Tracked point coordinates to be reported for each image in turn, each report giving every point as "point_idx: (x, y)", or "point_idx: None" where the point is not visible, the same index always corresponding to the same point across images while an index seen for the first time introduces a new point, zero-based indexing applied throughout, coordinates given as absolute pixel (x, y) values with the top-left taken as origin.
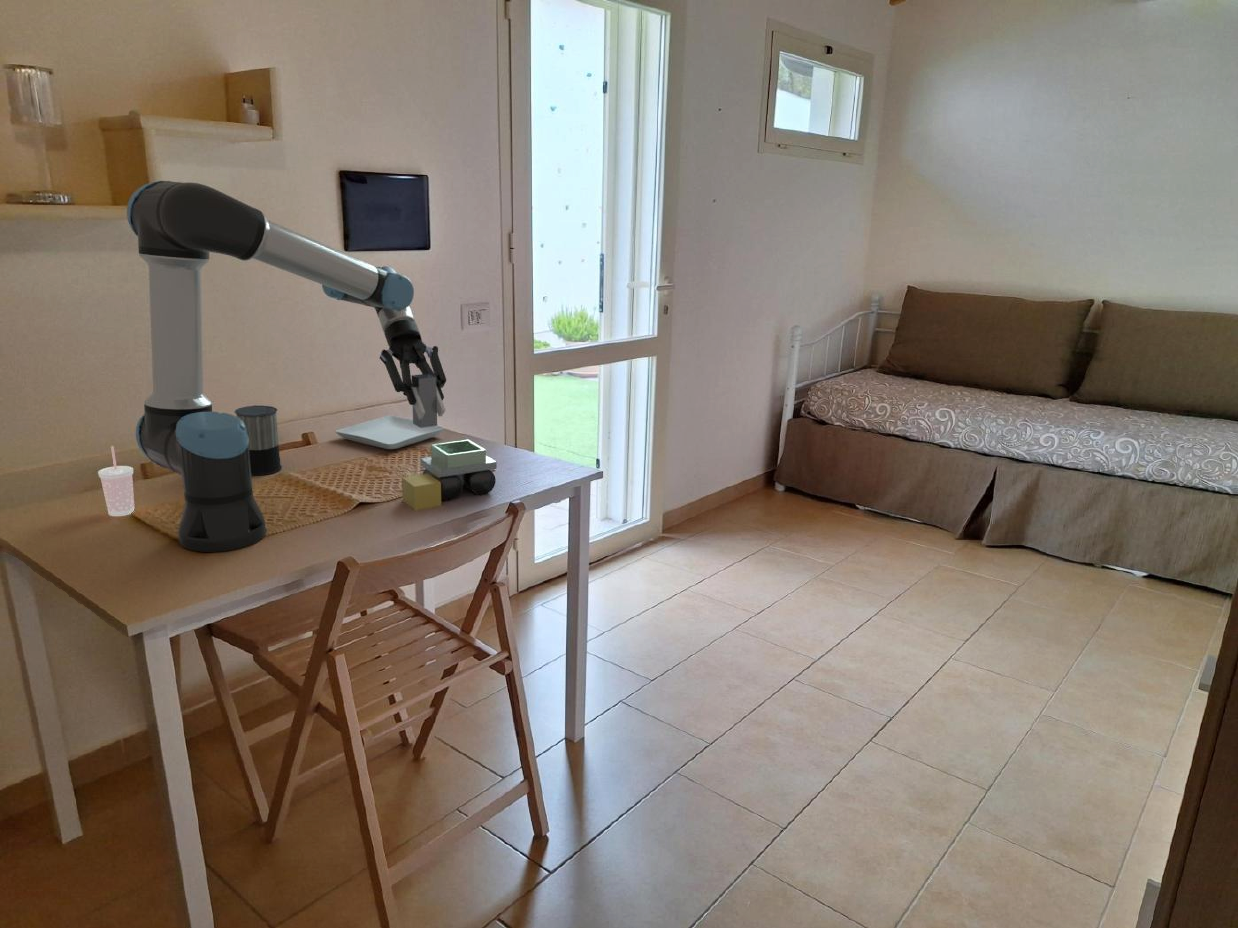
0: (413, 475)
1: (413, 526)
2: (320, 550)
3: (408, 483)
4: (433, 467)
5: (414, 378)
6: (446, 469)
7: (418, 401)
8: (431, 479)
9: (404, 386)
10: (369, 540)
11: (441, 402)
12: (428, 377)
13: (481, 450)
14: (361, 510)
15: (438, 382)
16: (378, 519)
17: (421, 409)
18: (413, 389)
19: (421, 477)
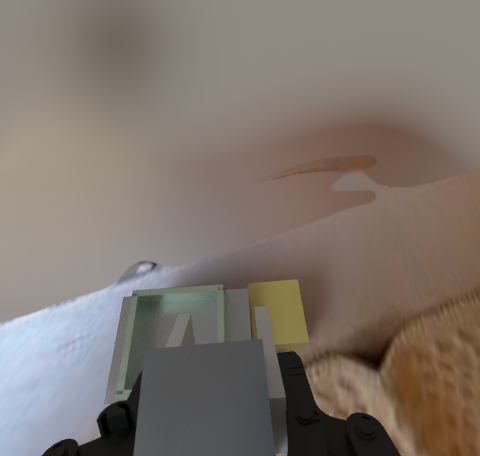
0: (284, 343)
1: (307, 237)
2: (426, 210)
3: (302, 306)
4: (249, 311)
5: (271, 424)
6: (230, 289)
7: (270, 335)
8: (258, 304)
9: (333, 428)
10: (367, 216)
11: (175, 333)
12: (190, 359)
13: (143, 290)
14: (376, 326)
15: (120, 410)
16: (351, 277)
17: (265, 313)
18: (283, 387)
19: (272, 323)
